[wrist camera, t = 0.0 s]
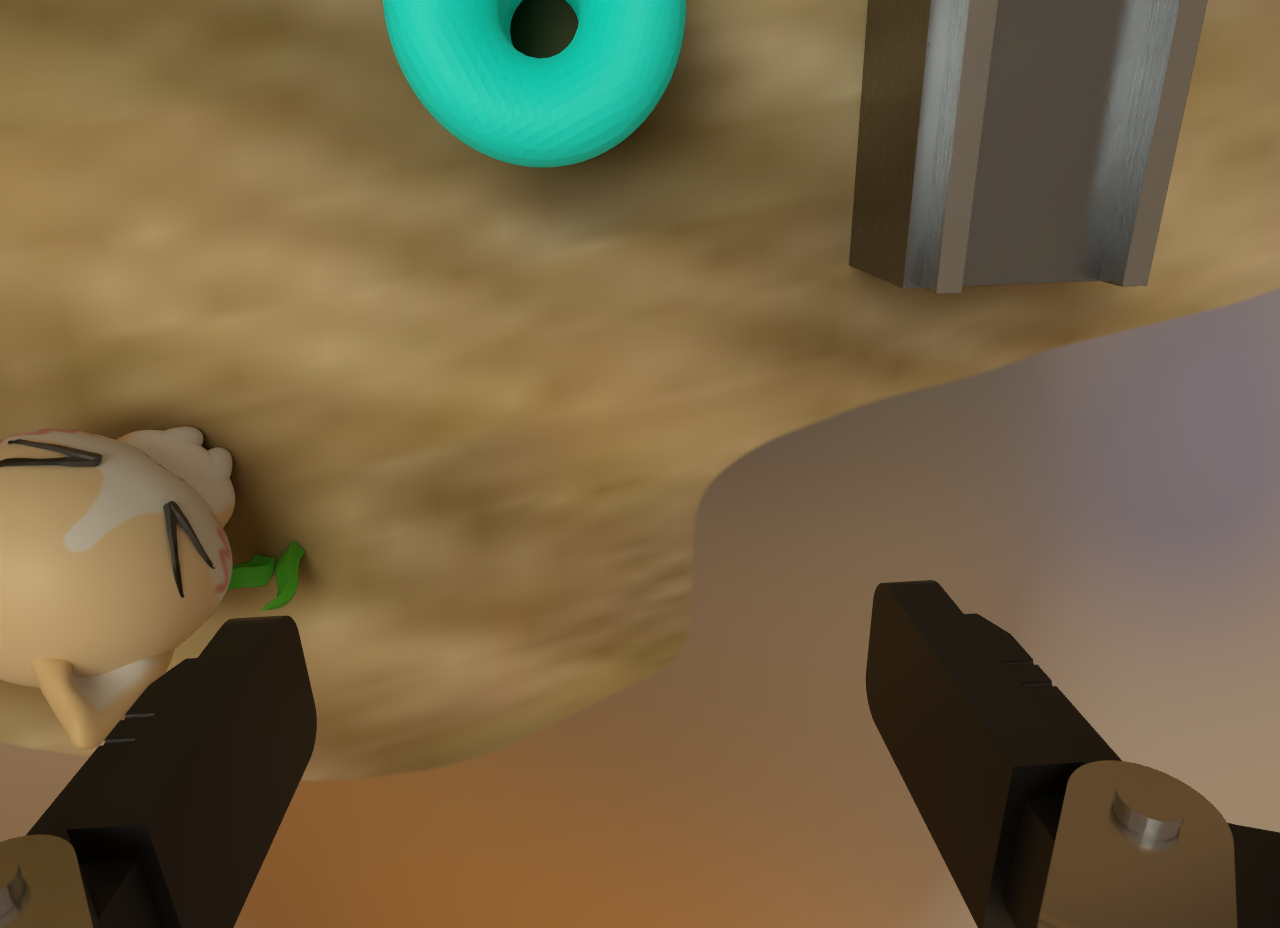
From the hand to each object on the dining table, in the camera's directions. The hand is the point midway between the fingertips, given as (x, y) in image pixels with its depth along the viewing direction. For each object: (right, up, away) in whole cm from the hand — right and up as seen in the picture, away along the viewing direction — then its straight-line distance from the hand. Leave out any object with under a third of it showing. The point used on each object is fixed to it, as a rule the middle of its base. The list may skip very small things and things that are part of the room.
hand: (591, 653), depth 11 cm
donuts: (-3, +21, +23) cm, 32 cm away
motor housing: (+16, +18, +25) cm, 35 cm away
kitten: (-23, +2, +30) cm, 37 cm away
